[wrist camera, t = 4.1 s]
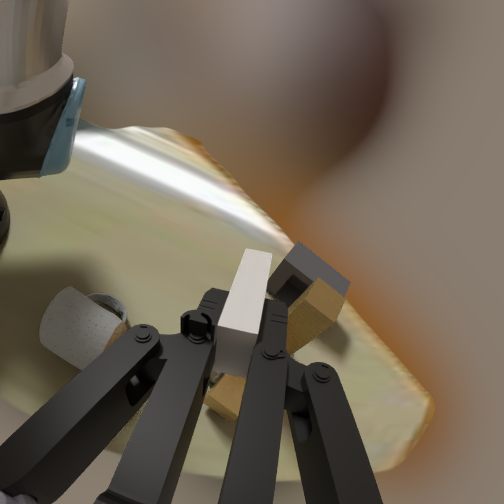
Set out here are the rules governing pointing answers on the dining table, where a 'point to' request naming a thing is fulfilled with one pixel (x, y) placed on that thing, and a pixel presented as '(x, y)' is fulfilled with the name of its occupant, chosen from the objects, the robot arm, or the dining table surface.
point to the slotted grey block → (302, 275)
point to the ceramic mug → (81, 325)
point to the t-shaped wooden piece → (298, 335)
